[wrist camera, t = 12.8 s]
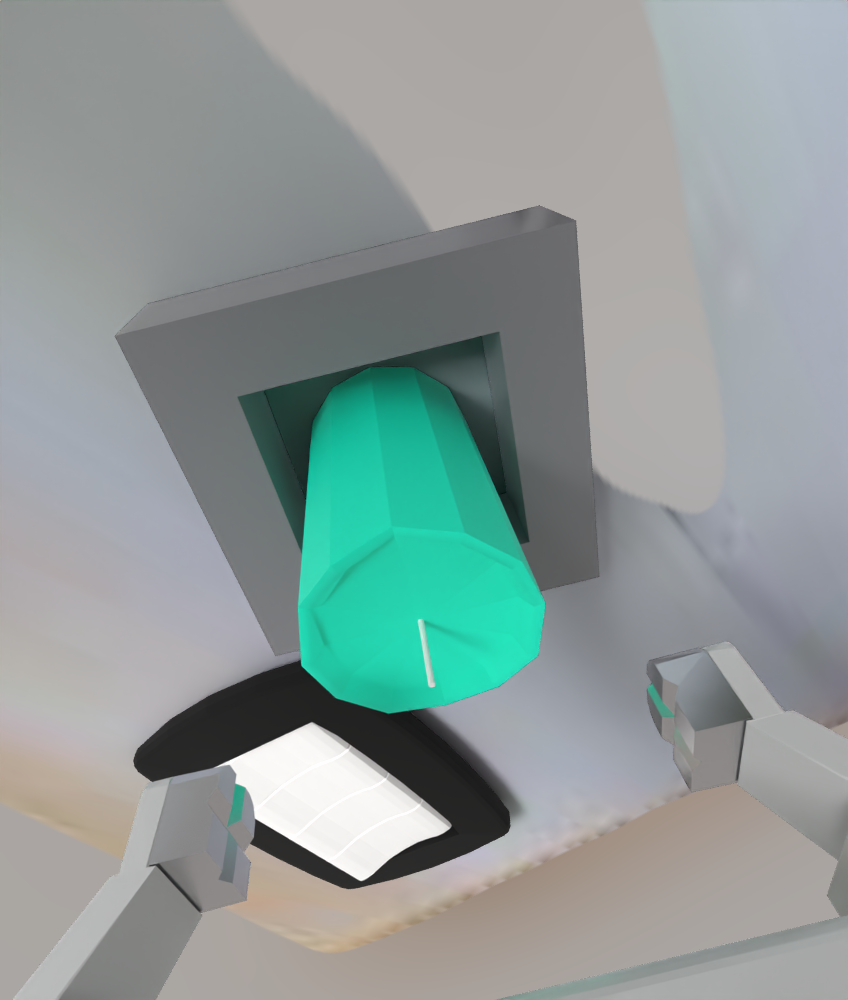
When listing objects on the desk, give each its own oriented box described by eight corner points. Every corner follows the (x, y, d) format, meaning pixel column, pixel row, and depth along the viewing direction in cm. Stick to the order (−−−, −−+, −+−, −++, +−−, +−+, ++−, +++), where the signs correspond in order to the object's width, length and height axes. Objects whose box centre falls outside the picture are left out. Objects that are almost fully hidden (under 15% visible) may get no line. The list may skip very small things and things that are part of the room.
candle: (489, 387, 23) (613, 602, 12) (438, 518, 25) (507, 779, 15) (330, 345, 21) (325, 552, 11) (296, 489, 24) (267, 760, 14)
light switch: (94, 783, 29) (321, 671, 25) (116, 730, 32) (327, 620, 28) (344, 916, 39) (536, 850, 35) (347, 868, 41) (526, 801, 38)
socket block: (148, 303, 19) (114, 335, 17) (539, 205, 19) (575, 220, 16) (282, 596, 27) (275, 656, 24) (569, 526, 26) (599, 576, 23)
